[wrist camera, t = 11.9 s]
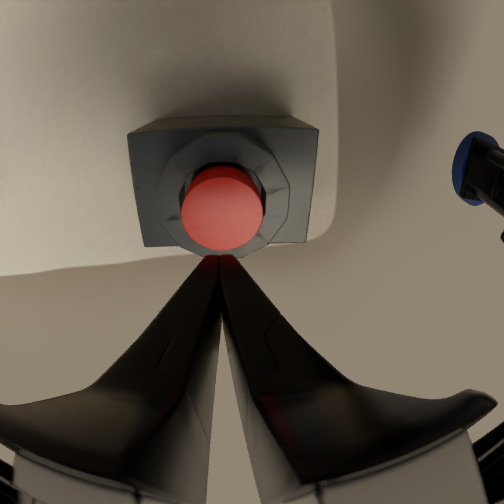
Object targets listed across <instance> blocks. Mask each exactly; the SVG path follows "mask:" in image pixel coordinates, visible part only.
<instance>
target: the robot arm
mask: <svg viewBox="0 0 504 504" xmlns="http://www.w3.org/2000/svg"><path fill="white" fill-rule="evenodd" d="M459 195H460V197H462V198H463V199H469V200H475V201H481V202H485V203H486V204H487V205H489V206H490V207H491V208H493V209H494V210H495V211H496V212H498V213H499V214H500V215H502V216H503V217H504V149H502V148H500V147H497V146H495V145H493V144H491V143H488V142H486V141H484V140H481V139H479V138H477V137H473V138H472V140H471V145H470V150H469V155H468V160H467V165H466V169H465V173H464V177H463V181H462V185H461V189H460V192H459ZM500 238H501V239H502V241H503V242H504V231H503V233H502V234H501V237H500ZM222 322H223V329H224V335H225V340H226V346H227V351H228V356H229V362H230V367H231V373H232V378H233V383H234V388H235V393H236V398H237V402H238V407H239V411H240V417H241V421H242V425H243V430H244V435H245V439H246V443H247V448H248V453H249V457H250V460H251V465H252V469H253V473H254V477H255V481H256V485H257V489H258V493H259V497H260V500H261V504H281V503H282V504H504V422H502V423H501V424H499V425H498V426H497V427H495V428H494V429H493V430H491V431H490V432H489V433H487V434H486V435H485V436H483V437H482V438H480V439H479V440H477V441H476V442H475V443H473V444H472V442H471V439H470V437H469V434H468V432H467V429H469V428H470V427H471V426H473V425H474V424H475V423H476V422H478V421H479V420H480V419H482V418H483V417H484V416H486V415H487V414H488V413H489V412H491V411H492V410H493V409H494V408H495V407H496V406H497V404H498V403H497V401H496V400H495V399H494V398H493V397H492V396H490V395H488V394H486V393H484V392H480V391H476V390H472V389H467V390H464V391H462V392H460V393H457V394H455V395H453V396H451V397H448V398H444V399H422V398H416V397H411V396H406V395H401V394H396V393H391V392H387V391H382V390H377V389H373V388H369V387H365V386H361V385H359V384H356V383H354V382H353V381H351V380H349V379H348V378H346V377H345V376H344V375H342V374H341V373H340V372H339V371H338V370H337V369H336V368H334V367H333V366H332V365H331V364H330V363H329V362H328V361H327V360H326V359H325V358H323V357H322V356H321V355H320V354H319V353H318V352H317V351H316V350H315V349H314V348H312V347H311V346H310V345H309V344H308V343H307V342H306V341H305V340H304V339H303V338H302V337H301V336H300V335H299V334H298V333H297V332H296V331H295V330H294V329H293V327H292V326H291V325H290V324H289V323H288V322H287V320H286V319H285V318H284V317H283V316H282V315H281V313H280V312H279V311H278V309H277V308H276V307H275V306H274V305H273V303H272V302H271V301H270V300H269V298H268V297H267V296H266V295H265V293H264V292H263V291H262V290H261V288H260V287H259V286H258V285H257V284H256V283H255V281H254V280H253V279H252V277H251V276H250V275H249V274H248V272H247V271H246V270H245V269H244V267H243V266H242V265H241V264H240V262H239V261H238V260H237V259H236V257H235V256H234V255H233V254H221V255H220V256H219V255H218V254H210V255H206V256H205V257H204V258H203V260H202V261H201V262H200V263H199V264H198V266H197V267H196V268H195V269H194V270H193V272H192V273H191V274H190V275H189V276H188V278H187V279H186V280H185V281H184V283H183V284H182V285H181V286H180V287H179V289H178V290H177V291H176V292H175V294H174V295H173V296H172V297H171V299H170V300H169V301H168V302H167V303H166V305H165V306H164V307H163V308H162V310H161V311H160V312H159V314H158V315H157V316H156V318H155V319H154V320H153V321H152V322H151V323H150V325H149V326H148V327H147V328H146V329H145V331H144V332H143V333H142V334H141V335H140V337H139V338H138V339H137V340H136V341H135V342H134V343H133V344H132V345H131V346H130V347H129V348H128V350H127V351H126V352H125V353H124V354H123V355H122V356H121V357H120V358H119V359H118V360H117V361H116V362H115V363H114V364H113V365H112V366H111V367H110V368H109V369H108V370H107V371H106V372H105V373H104V374H103V375H102V376H101V377H100V378H99V379H98V380H97V381H96V382H95V383H93V384H92V385H90V386H89V387H87V388H85V389H83V390H81V391H78V392H74V393H70V394H66V395H62V396H58V397H54V398H50V399H46V400H41V401H37V402H32V403H27V404H22V405H3V404H0V443H1V444H2V445H4V446H6V447H7V448H9V449H10V450H12V451H14V452H15V456H14V461H13V466H11V465H10V464H8V463H6V462H5V461H3V460H1V459H0V504H206V495H207V479H208V465H209V452H210V439H211V427H212V415H213V403H214V393H215V383H216V372H217V362H218V353H219V343H220V333H221V323H222Z"/></svg>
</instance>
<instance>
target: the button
mask: <svg viewBox="0 0 504 504" xmlns="http://www.w3.org/2000/svg"><path fill="white" fill-rule="evenodd" d="M181 218H182V223H183V226H184V228H185V230H186V232H187V233H188V235H189V236H190V237H191V238H192V239H193V240H194V241H195V242H197V243H198V244H200V245H202V246H204V247H206V248H209V249H213V250H231V249H235V248H238V247H240V246H243V245H244V244H246V243H247V242H249V241H250V240H251V239H252V238H253V237H254V236H255V235H256V234H257V232H258V230H259V229H260V226H261V224H262V220H263V207H262V203H261V199H260V196H259V192H258V189H257V187H256V185H255V183H254V181H253V180H252V179H251V178H250V176H249V175H247V174H246V173H245V172H243V171H242V170H239V169H237V168H234V167H230V166H215V167H211V168H208V169H206V170H204V171H202V172H201V173H199V174H198V175H197V176H196V177H195V178H194V179H193V180H192V182H191V183H190V185H189V187H188V190H187V193H186V195H185V198H184V201H183V205H182V209H181Z"/></svg>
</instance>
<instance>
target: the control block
mask: <svg viewBox="0 0 504 504" xmlns="http://www.w3.org/2000/svg"><path fill="white" fill-rule="evenodd" d="M318 135H319V130H318V129H317V128H315V127H313V126H311V125H309V124H307V123H305V122H303V121H301V120H299V119H297V118H294V117H292V116H275V115H208V116H190V117H177V118H166V119H156V120H154V121H152V122H150V123H148V124H146V125H144V126H142V127H140V128H138V129H136V130H134V131H133V132H131V133H129V134H127V139H128V149H129V157H130V166H131V173H132V180H133V187H134V194H135V200H136V206H137V211H138V217H139V222H140V228H141V233H142V238H143V242H144V246H145V247H161V246H180V247H181V248H184V249H186V250H188V251H191V252H193V253H195V254H198V255H200V256H202V257H205V256H206V255H210V254H218V255H219V256H220V255H221V254H233V255H234V256H235V257H236V258H242V257H244V256H246V255H248V254H250V253H252V252H254V251H256V250H258V249H260V248H262V247H264V246H266V245H268V244H269V243H305V242H306V238H307V231H308V224H309V216H310V208H311V201H312V192H313V184H314V175H315V166H316V156H317V146H318ZM215 166H230V167H234V168H237V169H239V170H242V171H243V172H245V173H246V174H247V175H249V176H250V178H251V179H252V180H253V181H254V183H255V185H256V187H257V189H258V192H259V196H260V199H261V203H262V207H263V220H262V224H261V226H260V229H259V230H258V232H257V234H256V235H255V236H254V237H253V238H252V239H251V240H250V241H249V242H247V243H246V244H244V245H243V246H240V247H238V248H235V249H231V250H213V249H209V248H206V247H204V246H202V245H200V244H198V243H197V242H195V241H194V240H193V239H192V238H191V237H190V236H189V235H188V233H187V232H186V230H185V228H184V226H183V223H182V218H181V209H182V205H183V201H184V198H185V195H186V193H187V190H188V187H189V185H190V183H191V182H192V180H193V179H194V178H195V177H196V176H197V175H198V174H199V173H201V172H202V171H204V170H206V169H208V168H211V167H215Z"/></svg>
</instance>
